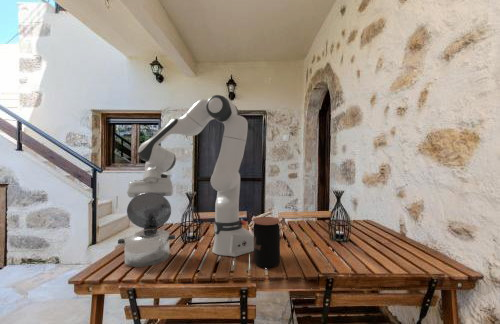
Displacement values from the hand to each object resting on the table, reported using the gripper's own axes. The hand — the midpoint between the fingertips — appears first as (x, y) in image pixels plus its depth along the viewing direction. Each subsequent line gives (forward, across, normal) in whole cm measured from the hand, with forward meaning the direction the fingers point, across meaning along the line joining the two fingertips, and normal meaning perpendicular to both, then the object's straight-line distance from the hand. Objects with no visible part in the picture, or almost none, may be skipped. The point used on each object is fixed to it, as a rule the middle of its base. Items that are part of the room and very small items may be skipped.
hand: (149, 202), depth 114 cm
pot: (+21, 0, +12) cm, 24 cm away
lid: (+3, 0, +3) cm, 4 cm away
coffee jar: (+34, +49, -1) cm, 59 cm away
